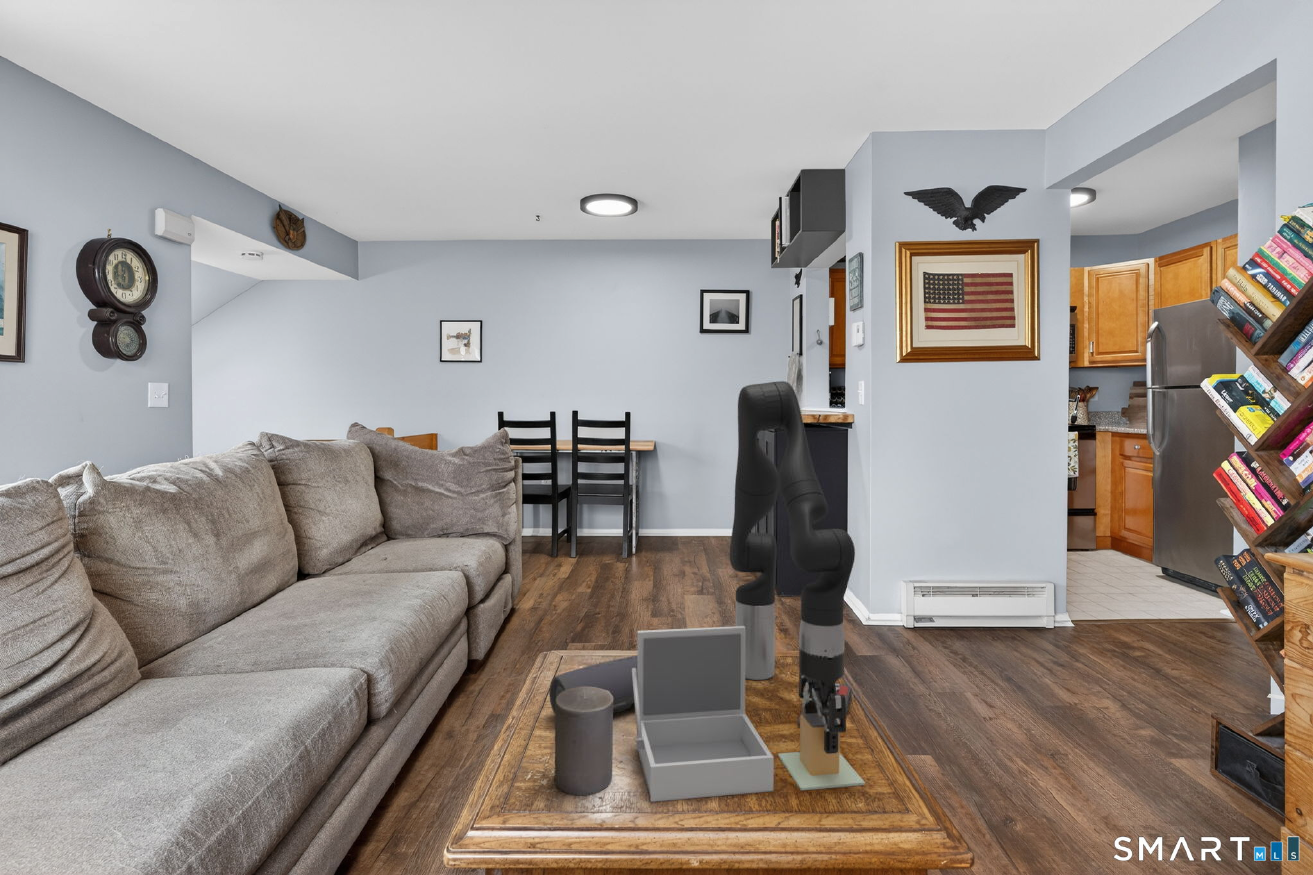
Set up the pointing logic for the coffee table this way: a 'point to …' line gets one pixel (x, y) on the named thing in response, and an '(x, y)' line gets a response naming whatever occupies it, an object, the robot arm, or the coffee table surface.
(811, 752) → the block
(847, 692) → the walkie-talkie
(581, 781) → the pillar candle
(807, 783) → the pad
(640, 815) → the coffee table surface
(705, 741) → the equipment case
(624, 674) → the bluetooth speaker
